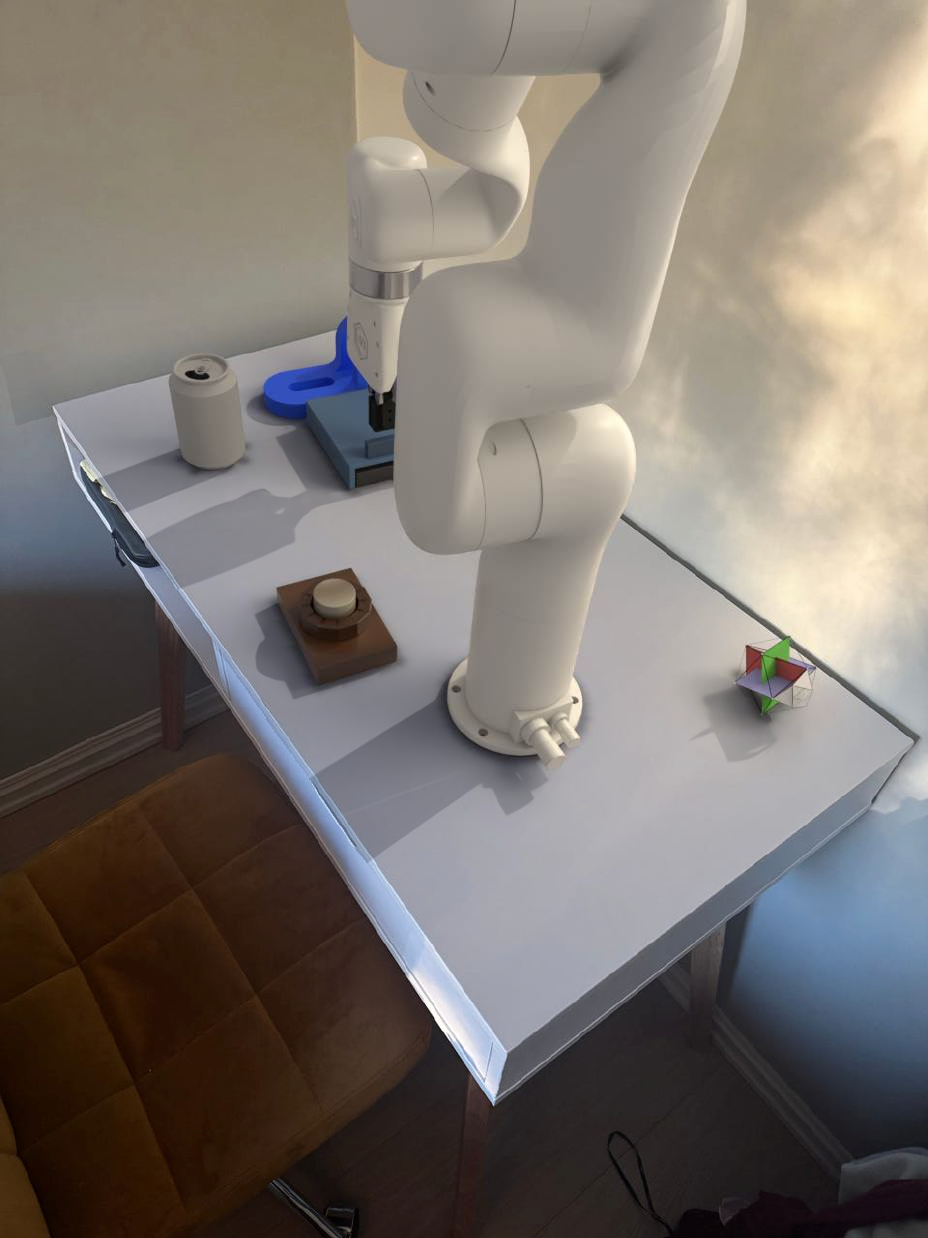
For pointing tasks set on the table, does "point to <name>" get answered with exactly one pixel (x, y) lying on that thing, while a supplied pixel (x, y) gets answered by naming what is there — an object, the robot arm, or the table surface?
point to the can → (207, 411)
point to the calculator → (374, 473)
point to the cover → (349, 432)
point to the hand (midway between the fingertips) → (383, 426)
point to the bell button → (334, 599)
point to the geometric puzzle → (777, 676)
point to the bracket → (313, 381)
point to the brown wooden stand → (336, 631)
